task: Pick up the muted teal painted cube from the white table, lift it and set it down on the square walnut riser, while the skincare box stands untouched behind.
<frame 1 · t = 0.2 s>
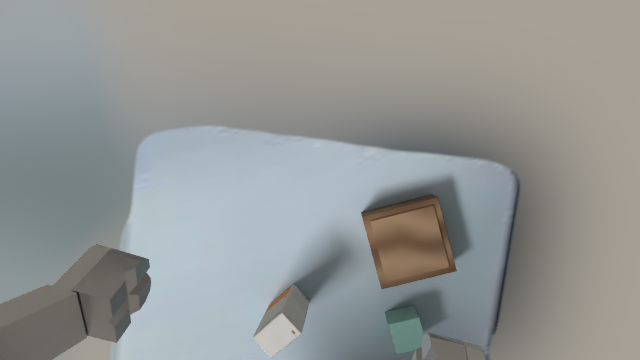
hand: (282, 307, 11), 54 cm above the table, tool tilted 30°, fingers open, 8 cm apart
walnut riser: (405, 238, 65), on the table
teal cube: (402, 322, 66), on the table
skincare box: (289, 302, 67), on the table
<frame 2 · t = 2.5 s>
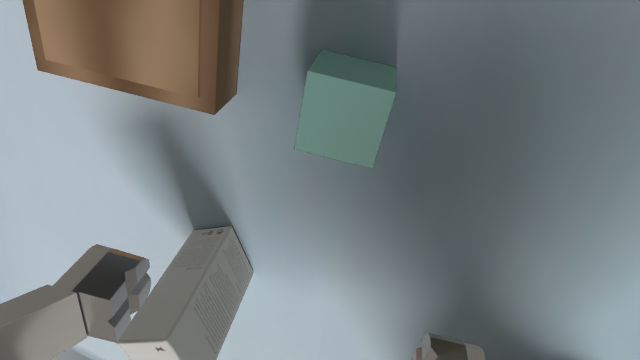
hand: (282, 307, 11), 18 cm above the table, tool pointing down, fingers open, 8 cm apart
teal cube: (350, 93, 27), on the table
skincare box: (225, 250, 37), on the table
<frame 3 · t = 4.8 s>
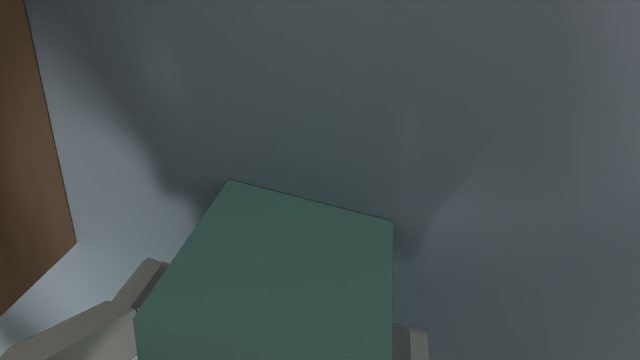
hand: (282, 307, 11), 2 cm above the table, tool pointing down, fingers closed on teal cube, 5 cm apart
teal cube: (297, 260, 13), on the table, touching gripper
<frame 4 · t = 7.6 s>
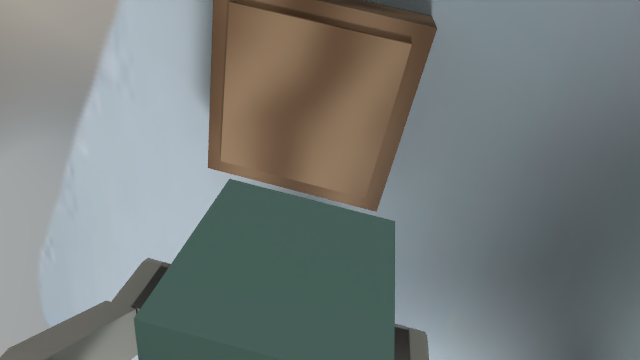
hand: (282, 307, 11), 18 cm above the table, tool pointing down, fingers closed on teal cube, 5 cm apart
walnut riser: (317, 88, 27), on the table
teal cube: (298, 259, 13), point 16 cm above the table, touching gripper
when the fingers open (7 cm above the table, at t = 10.5 s): teal cube drops 1 cm, resting on walnut riser.
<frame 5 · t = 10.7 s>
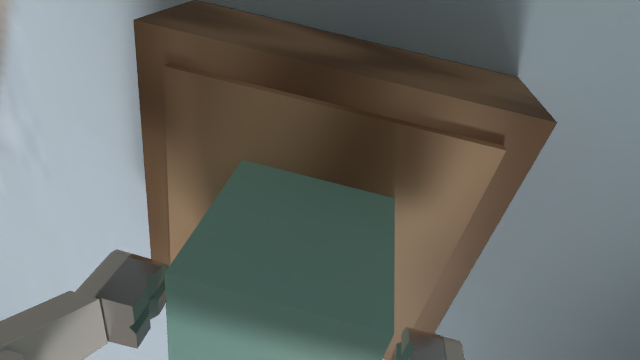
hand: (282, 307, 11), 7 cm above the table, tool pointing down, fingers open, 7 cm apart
walnut riser: (322, 174, 17), on the table
teal cube: (304, 236, 14), point 4 cm above the table, touching walnut riser
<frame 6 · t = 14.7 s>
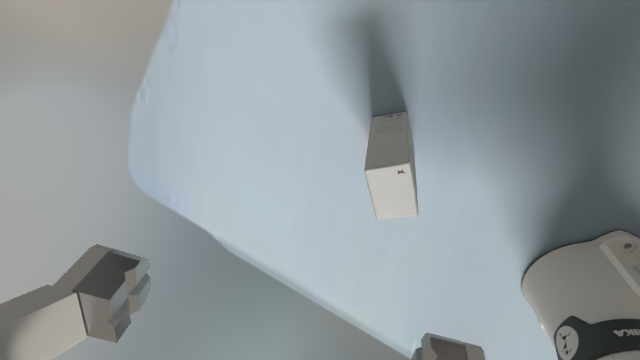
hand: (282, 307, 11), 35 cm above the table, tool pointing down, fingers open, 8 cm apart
skincare box: (393, 136, 46), on the table
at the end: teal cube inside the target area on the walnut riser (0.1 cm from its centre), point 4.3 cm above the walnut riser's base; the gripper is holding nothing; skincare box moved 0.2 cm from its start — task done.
